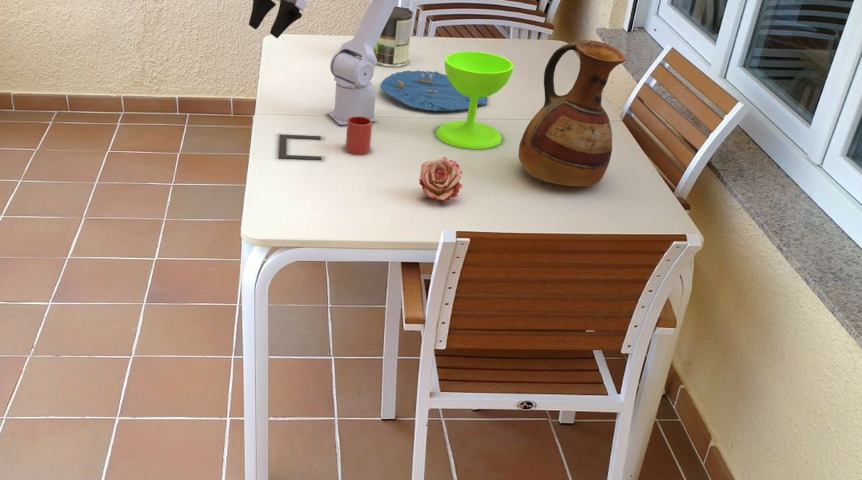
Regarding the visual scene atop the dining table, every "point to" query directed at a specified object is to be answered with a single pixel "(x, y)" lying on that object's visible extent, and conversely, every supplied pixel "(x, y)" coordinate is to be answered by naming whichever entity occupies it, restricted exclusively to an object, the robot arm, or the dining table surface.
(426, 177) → the flower
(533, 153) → the ceramic pitcher
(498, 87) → the wineglass
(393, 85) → the decorative plate
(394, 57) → the coffee can
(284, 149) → the tape bay
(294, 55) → the dining table surface
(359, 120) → the tumbler
